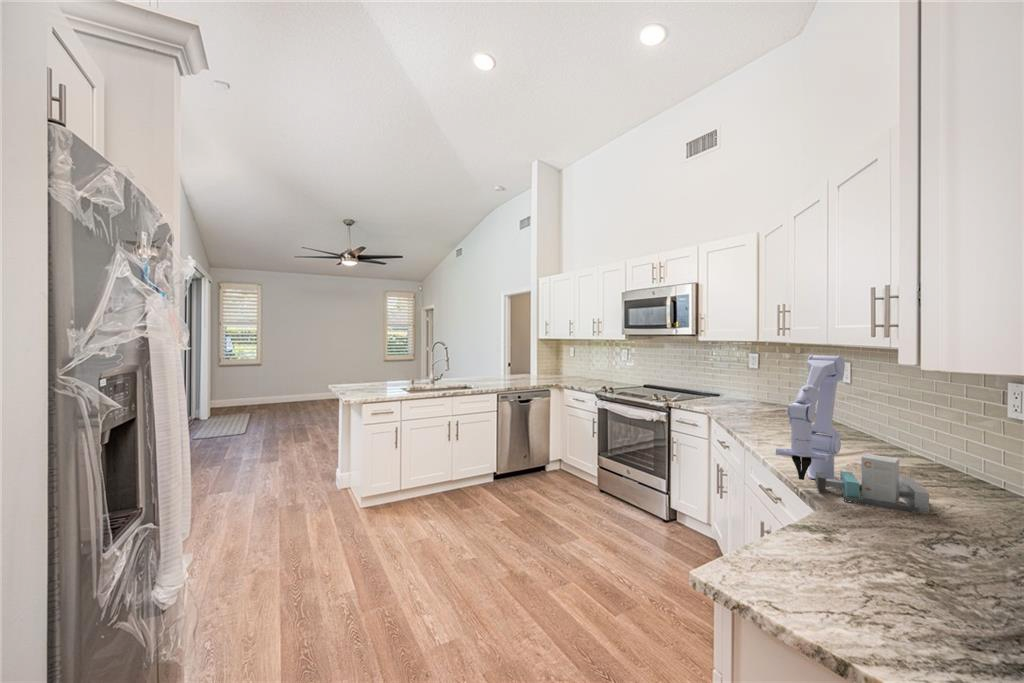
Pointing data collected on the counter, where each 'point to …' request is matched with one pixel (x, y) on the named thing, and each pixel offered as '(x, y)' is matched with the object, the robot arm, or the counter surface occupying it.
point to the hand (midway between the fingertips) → (801, 478)
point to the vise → (909, 493)
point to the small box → (880, 478)
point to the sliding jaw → (839, 483)
